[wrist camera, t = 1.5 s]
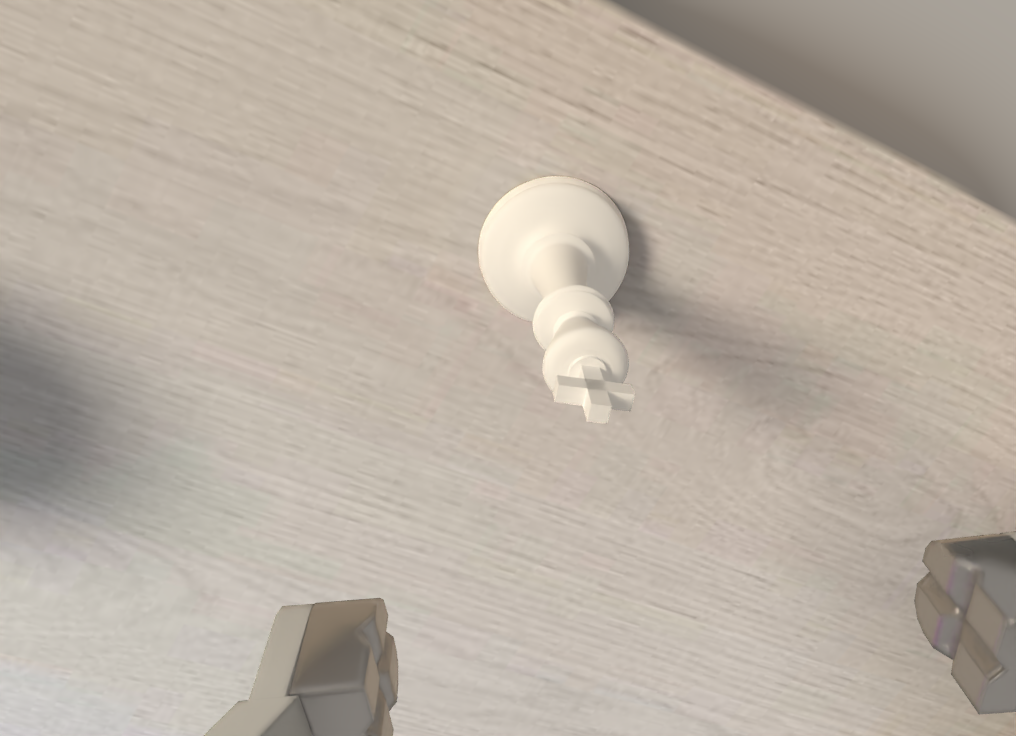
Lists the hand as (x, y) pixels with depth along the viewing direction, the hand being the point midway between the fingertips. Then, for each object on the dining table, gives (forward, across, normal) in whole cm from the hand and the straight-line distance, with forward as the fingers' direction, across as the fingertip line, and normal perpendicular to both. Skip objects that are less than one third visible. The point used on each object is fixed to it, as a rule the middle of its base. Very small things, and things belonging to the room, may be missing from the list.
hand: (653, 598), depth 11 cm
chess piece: (+15, 0, 0) cm, 15 cm away
